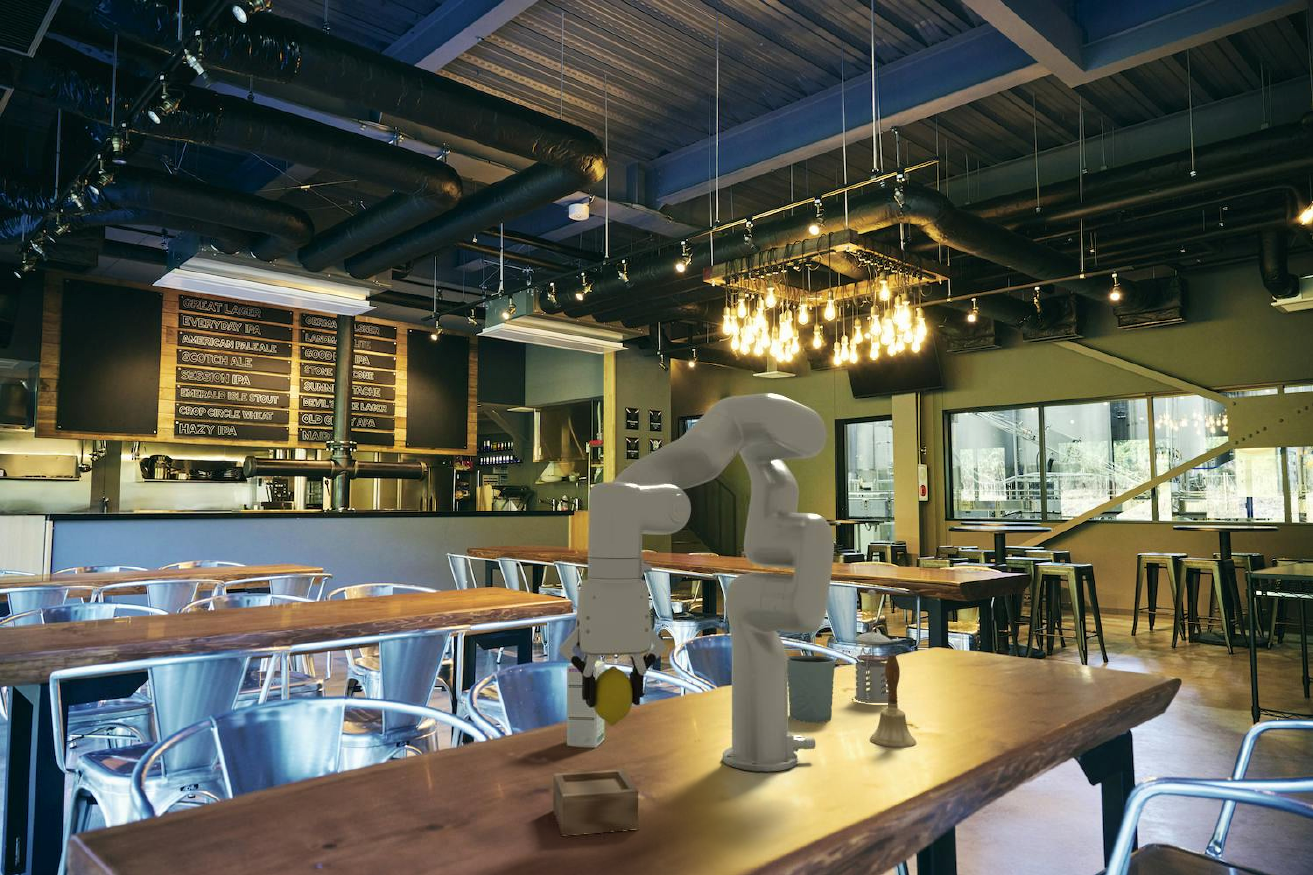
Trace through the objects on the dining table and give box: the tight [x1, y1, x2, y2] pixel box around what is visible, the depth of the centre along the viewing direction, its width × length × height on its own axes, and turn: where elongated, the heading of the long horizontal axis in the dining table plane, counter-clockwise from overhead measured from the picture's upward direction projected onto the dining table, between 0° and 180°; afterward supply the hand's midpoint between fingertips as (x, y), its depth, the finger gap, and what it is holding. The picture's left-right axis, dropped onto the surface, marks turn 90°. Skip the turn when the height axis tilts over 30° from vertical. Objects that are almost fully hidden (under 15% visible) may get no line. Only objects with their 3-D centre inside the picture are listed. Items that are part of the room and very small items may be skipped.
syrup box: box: [566, 659, 606, 749], centre depth 153 cm, size 6×6×14 cm
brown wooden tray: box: [552, 768, 639, 836], centre depth 114 cm, size 10×10×5 cm
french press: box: [854, 589, 892, 703], centre depth 190 cm, size 10×12×25 cm
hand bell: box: [869, 653, 917, 748], centre depth 156 cm, size 8×8×16 cm
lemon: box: [594, 665, 633, 727], centre depth 115 cm, size 6×6×8 cm
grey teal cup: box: [787, 654, 836, 723], centre depth 174 cm, size 10×10×12 cm
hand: (612, 702), depth 115 cm, fingers closed on lemon, 5 cm apart
